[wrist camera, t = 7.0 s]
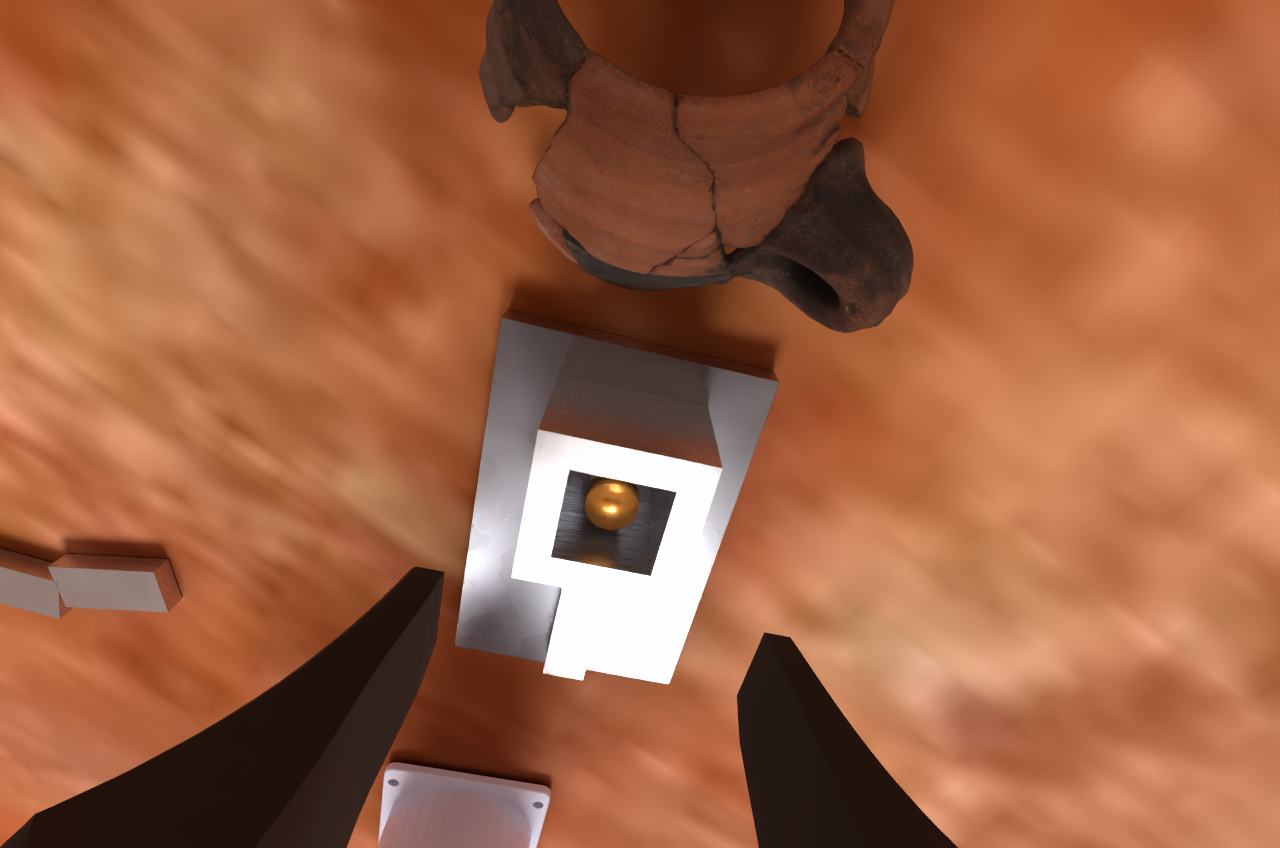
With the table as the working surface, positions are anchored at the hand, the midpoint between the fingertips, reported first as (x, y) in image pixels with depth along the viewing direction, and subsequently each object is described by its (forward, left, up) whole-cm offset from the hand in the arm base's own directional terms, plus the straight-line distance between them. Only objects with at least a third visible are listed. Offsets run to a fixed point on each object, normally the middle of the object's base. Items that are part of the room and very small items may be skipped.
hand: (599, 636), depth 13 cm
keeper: (-3, 0, -9) cm, 9 cm away
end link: (0, 0, -8) cm, 8 cm away
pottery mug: (+10, 0, -9) cm, 14 cm away
